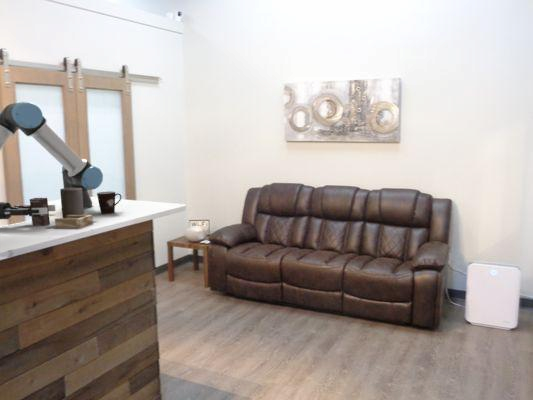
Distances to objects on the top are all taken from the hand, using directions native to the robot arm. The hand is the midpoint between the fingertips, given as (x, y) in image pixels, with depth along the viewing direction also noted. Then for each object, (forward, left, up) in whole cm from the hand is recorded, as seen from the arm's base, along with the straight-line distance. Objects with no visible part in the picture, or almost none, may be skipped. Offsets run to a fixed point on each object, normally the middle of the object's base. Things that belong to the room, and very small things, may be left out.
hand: (51, 209), depth 218 cm
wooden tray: (+1, +11, -7) cm, 13 cm away
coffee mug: (-31, +11, -7) cm, 34 cm away
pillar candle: (-18, -1, -7) cm, 20 cm away
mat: (+1, +10, -7) cm, 12 cm away
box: (+1, -5, -7) cm, 9 cm away
